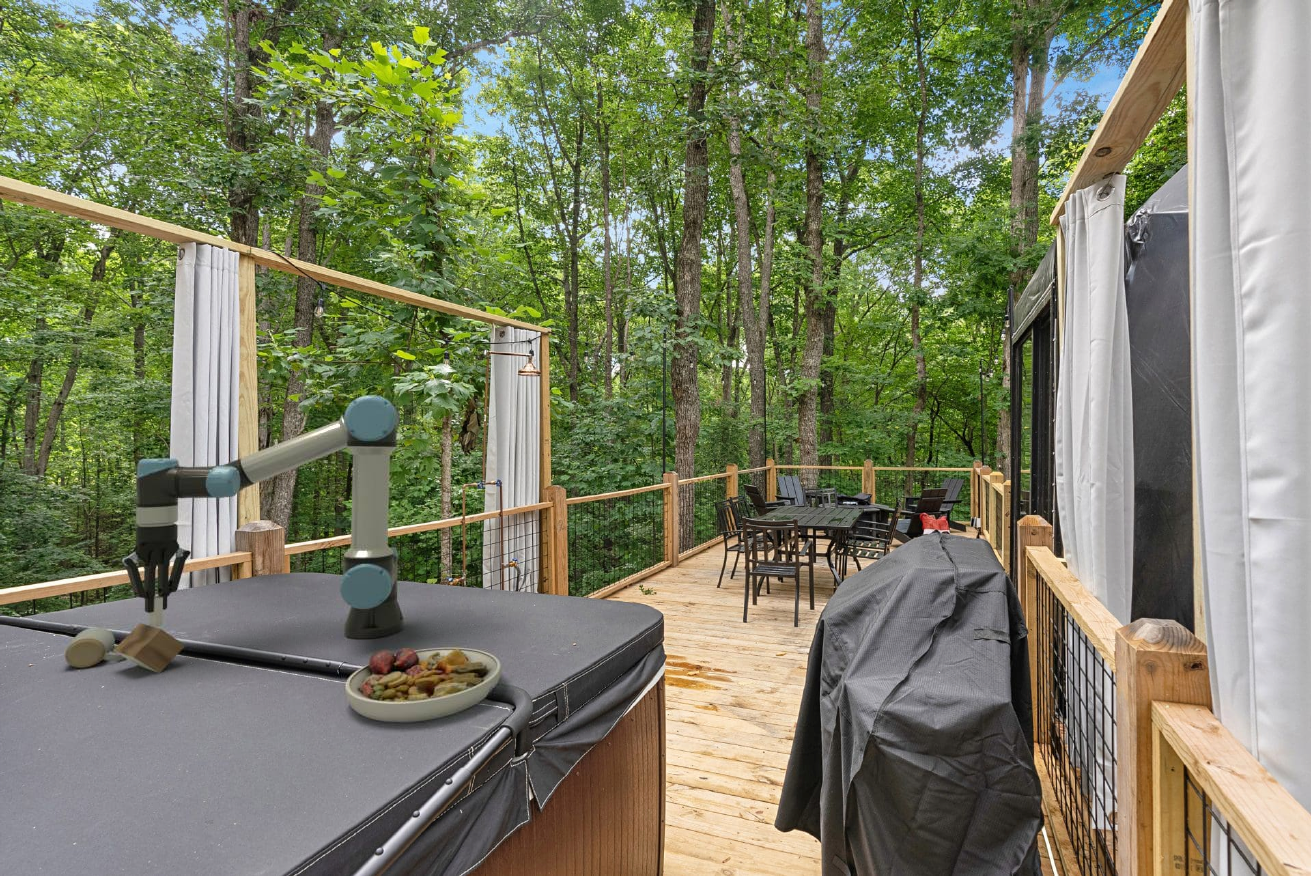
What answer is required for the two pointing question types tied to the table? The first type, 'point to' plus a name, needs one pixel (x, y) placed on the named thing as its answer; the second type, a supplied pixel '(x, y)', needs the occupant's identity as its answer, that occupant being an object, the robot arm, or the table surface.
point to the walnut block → (149, 647)
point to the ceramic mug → (91, 648)
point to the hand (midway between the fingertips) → (155, 625)
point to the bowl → (421, 683)
